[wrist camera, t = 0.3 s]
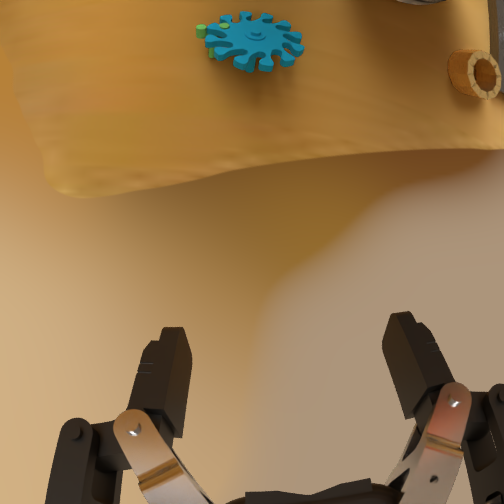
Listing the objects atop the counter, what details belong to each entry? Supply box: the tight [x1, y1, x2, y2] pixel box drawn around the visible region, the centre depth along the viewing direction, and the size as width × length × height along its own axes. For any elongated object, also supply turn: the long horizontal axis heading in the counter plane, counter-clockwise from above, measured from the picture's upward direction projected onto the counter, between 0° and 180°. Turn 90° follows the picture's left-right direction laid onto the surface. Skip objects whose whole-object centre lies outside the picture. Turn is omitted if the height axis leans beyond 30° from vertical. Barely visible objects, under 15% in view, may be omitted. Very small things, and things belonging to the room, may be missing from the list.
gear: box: [196, 11, 305, 73], centre depth 27 cm, size 11×6×10 cm
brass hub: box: [448, 50, 501, 100], centre depth 26 cm, size 6×6×4 cm
